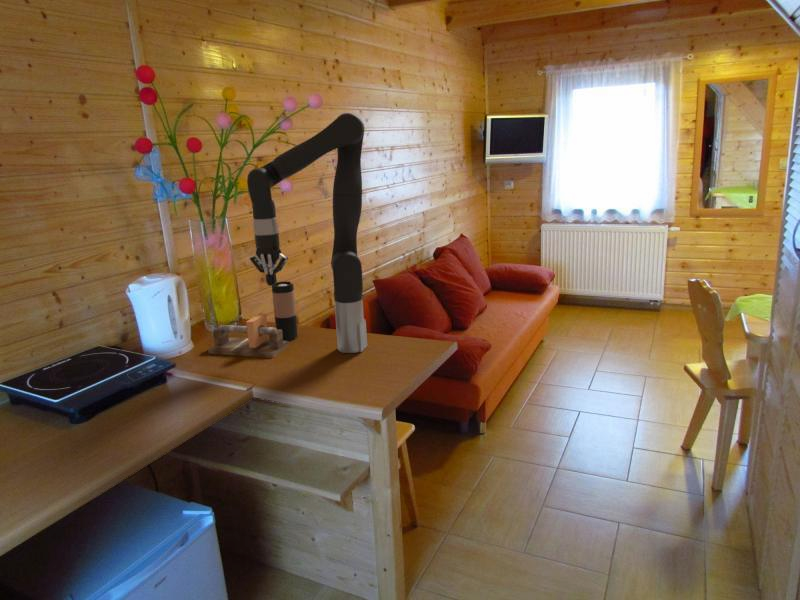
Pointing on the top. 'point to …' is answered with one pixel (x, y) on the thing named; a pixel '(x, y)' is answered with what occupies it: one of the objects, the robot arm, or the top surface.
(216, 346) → the rod stand
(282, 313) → the travel mug
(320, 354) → the top surface
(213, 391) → the top surface
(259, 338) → the light wood square slab
